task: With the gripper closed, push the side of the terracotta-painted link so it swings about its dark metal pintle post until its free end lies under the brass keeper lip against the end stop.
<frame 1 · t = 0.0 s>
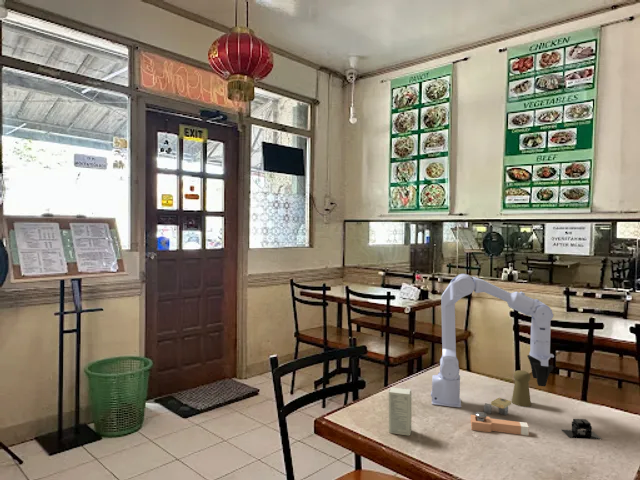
hand: (539, 381, 144), 10 cm above the table, tool pointing down, fingers open, 7 cm apart
skincare box: (399, 432, 129), on the table
link: (499, 425, 131), point 1 cm above the table, hinge at 0.0°
black piece: (581, 437, 129), on the table
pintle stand: (480, 427, 133), on the table
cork: (521, 403, 152), on the table
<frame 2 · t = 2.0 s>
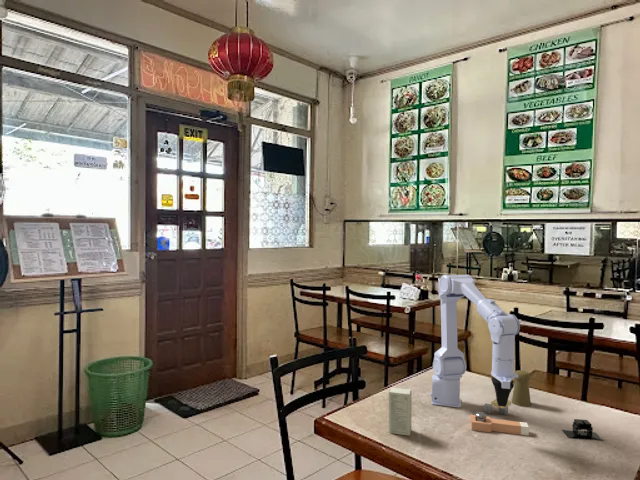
hand: (501, 405, 126), 9 cm above the table, tool pointing down, fingers closed
nothing on the table moved.
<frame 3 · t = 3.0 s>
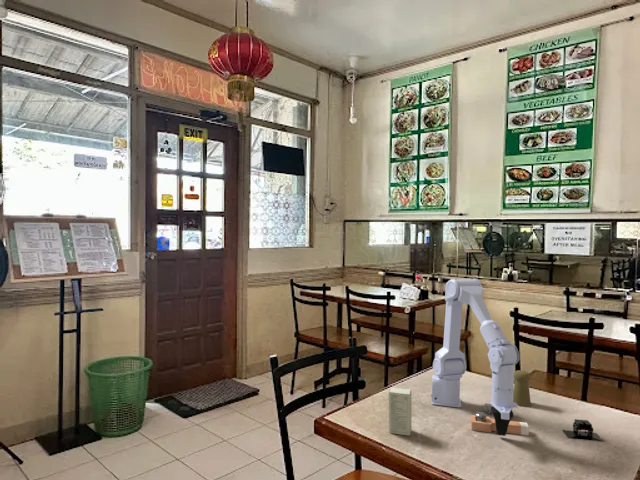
hand: (501, 434, 126), 1 cm above the table, tool pointing down, fingers closed
nothing on the table moved.
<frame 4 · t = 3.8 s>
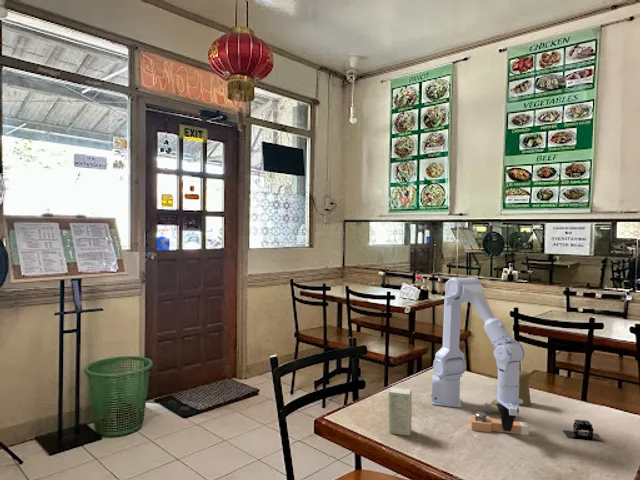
hand: (506, 430, 129), 1 cm above the table, tool pointing down, fingers closed
link: (499, 425, 131), point 1 cm above the table, hinge at 0.4°, touching gripper
everything else where it was.
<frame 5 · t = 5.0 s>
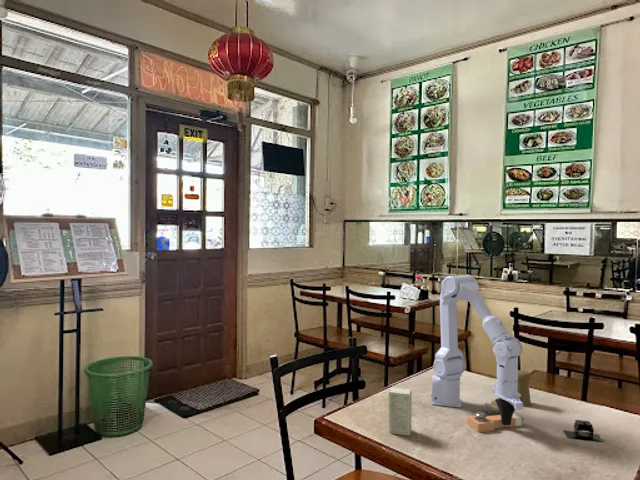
hand: (506, 424, 132), 1 cm above the table, tool pointing down, fingers closed, pressing on link
link: (495, 421, 134), point 1 cm above the table, hinge at 29.6°, touching gripper
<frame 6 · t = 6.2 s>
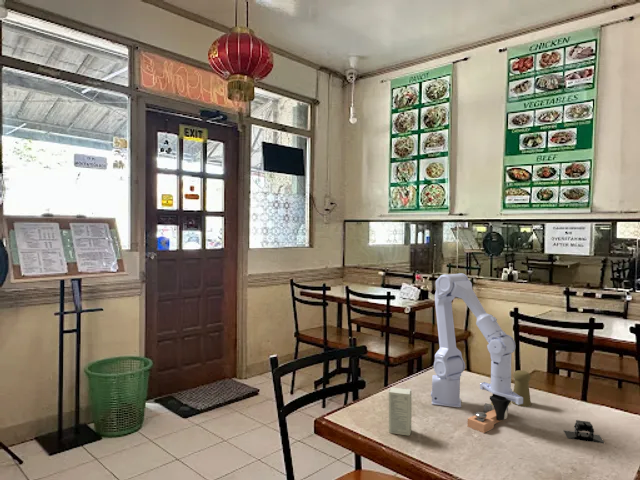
hand: (500, 419, 136), 1 cm above the table, tool pointing down, fingers closed
link: (489, 418, 136), point 1 cm above the table, hinge at 54.8°, touching gripper
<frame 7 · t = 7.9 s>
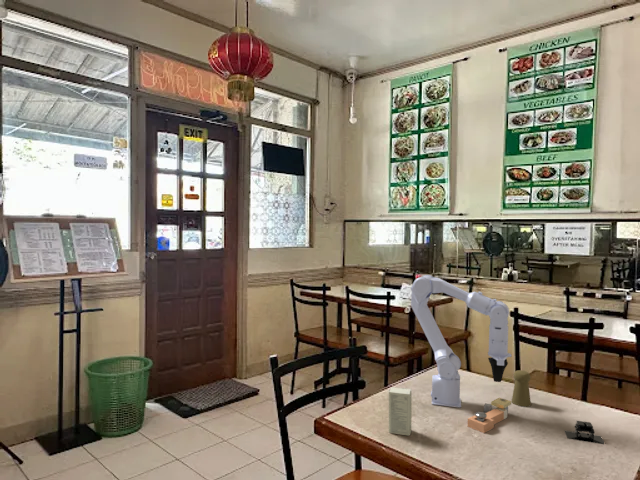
hand: (497, 381, 144), 10 cm above the table, tool pointing down, fingers closed
link: (489, 418, 136), point 1 cm above the table, hinge at 55.1°
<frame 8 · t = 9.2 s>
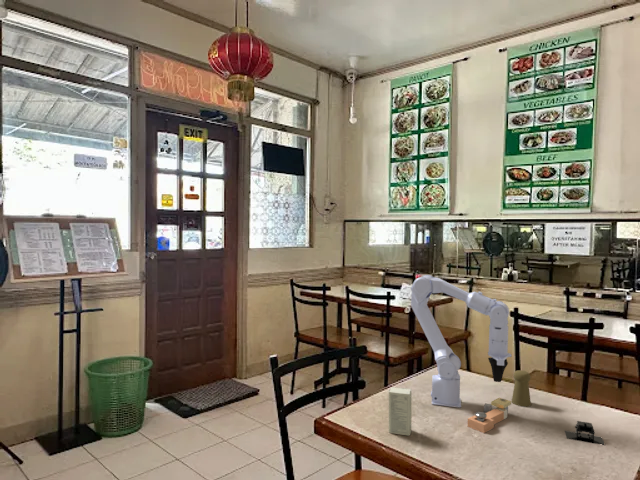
hand: (497, 381, 144), 10 cm above the table, tool pointing down, fingers closed
at the end: link at +55° (first picture: +0°) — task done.
